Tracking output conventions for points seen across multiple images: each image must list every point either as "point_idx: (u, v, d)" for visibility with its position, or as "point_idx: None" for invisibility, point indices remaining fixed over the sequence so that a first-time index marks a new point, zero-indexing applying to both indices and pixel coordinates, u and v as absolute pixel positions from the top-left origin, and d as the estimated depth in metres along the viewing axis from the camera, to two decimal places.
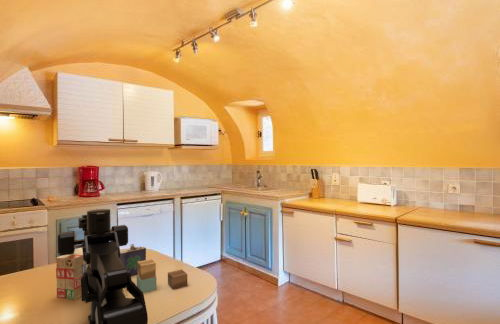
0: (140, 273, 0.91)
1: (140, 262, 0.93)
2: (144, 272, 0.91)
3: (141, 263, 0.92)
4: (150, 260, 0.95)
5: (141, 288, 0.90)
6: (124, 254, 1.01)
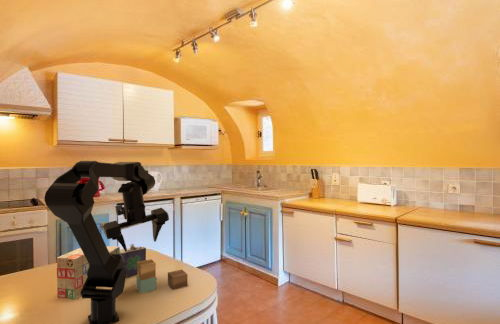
0: (140, 273, 0.91)
1: (140, 262, 0.93)
2: (144, 272, 0.91)
3: (141, 263, 0.92)
4: (150, 260, 0.95)
5: (141, 288, 0.90)
6: (124, 254, 1.01)
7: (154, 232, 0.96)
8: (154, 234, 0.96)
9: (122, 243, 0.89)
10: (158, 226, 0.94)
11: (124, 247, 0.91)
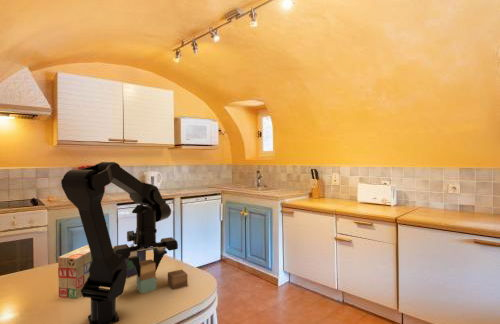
0: (140, 273, 0.91)
1: (140, 262, 0.93)
2: (144, 272, 0.91)
3: (141, 264, 0.92)
4: (150, 260, 0.95)
5: (141, 288, 0.90)
6: None
7: None
8: None
9: (137, 266, 0.90)
10: (159, 255, 0.93)
11: (138, 271, 0.91)
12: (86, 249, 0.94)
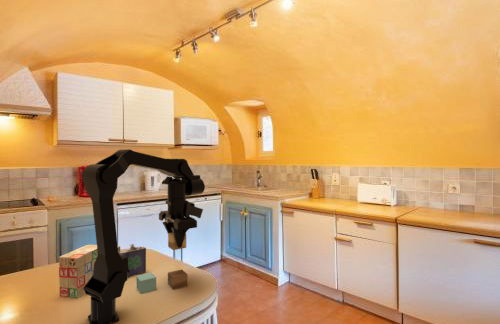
0: None
1: None
2: (169, 241, 0.95)
3: None
4: None
5: (141, 288, 0.90)
6: (124, 254, 1.01)
7: None
8: None
9: (167, 232, 0.97)
10: (172, 229, 0.91)
11: None
12: (87, 249, 0.95)
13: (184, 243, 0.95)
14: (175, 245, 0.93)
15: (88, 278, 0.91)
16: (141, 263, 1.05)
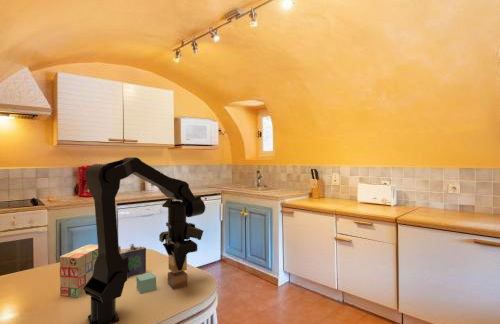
0: None
1: None
2: (169, 263, 0.95)
3: None
4: None
5: (141, 288, 0.90)
6: (124, 254, 1.01)
7: None
8: None
9: (167, 253, 0.97)
10: (172, 252, 0.91)
11: None
12: (87, 248, 0.95)
13: (184, 265, 0.95)
14: (175, 268, 0.93)
15: (89, 278, 0.91)
16: (141, 263, 1.05)
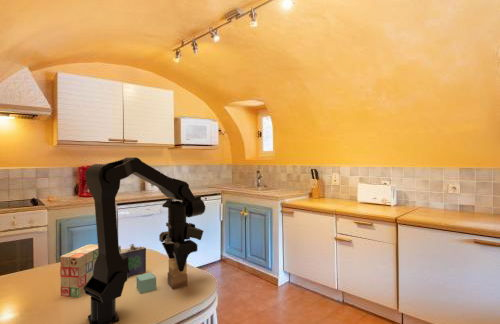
0: None
1: None
2: (169, 266, 0.96)
3: (174, 258, 0.97)
4: None
5: (141, 288, 0.90)
6: (124, 254, 1.01)
7: None
8: None
9: None
10: (173, 254, 0.90)
11: (169, 258, 0.98)
12: (88, 248, 0.95)
13: (184, 269, 0.95)
14: (175, 272, 0.93)
15: (89, 277, 0.92)
16: (141, 263, 1.05)
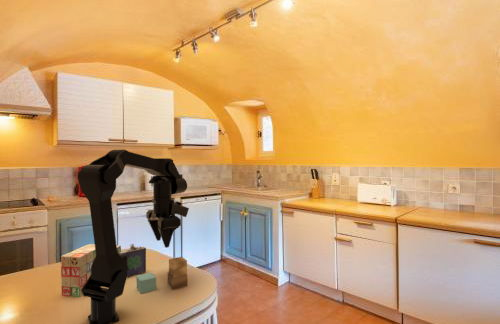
0: None
1: (179, 257, 0.98)
2: (170, 267, 0.95)
3: (174, 258, 0.97)
4: (182, 260, 0.95)
5: (141, 288, 0.90)
6: (124, 254, 1.01)
7: None
8: None
9: (152, 229, 1.01)
10: (158, 229, 0.91)
11: (154, 234, 1.01)
12: (88, 248, 0.95)
13: (185, 269, 0.95)
14: (175, 272, 0.93)
15: None
16: (141, 263, 1.05)
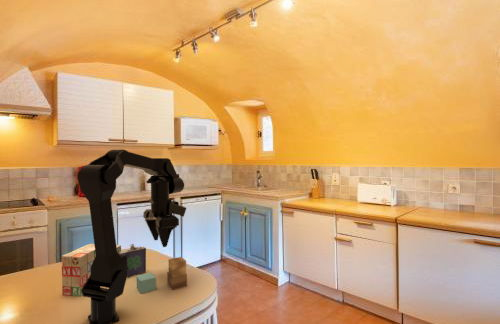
0: None
1: (178, 257, 0.97)
2: (169, 267, 0.95)
3: (174, 258, 0.97)
4: (181, 260, 0.95)
5: (141, 288, 0.90)
6: (124, 254, 1.01)
7: None
8: None
9: (149, 228, 1.01)
10: (156, 229, 0.91)
11: (152, 234, 1.01)
12: (89, 248, 0.95)
13: (184, 270, 0.95)
14: (175, 272, 0.93)
15: None
16: (141, 263, 1.05)
